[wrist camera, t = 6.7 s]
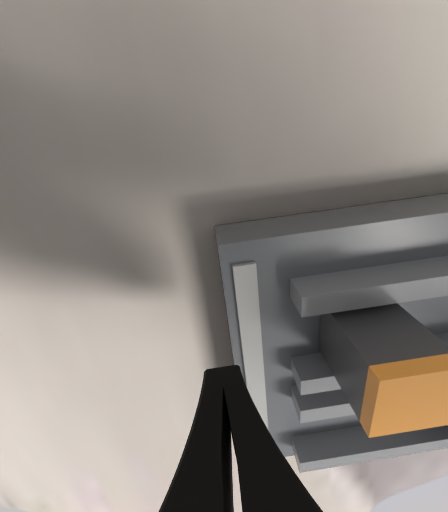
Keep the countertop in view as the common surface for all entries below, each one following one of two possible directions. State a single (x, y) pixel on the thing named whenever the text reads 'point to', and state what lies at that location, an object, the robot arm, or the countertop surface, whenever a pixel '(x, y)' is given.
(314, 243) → the block
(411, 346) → the breaker toggle
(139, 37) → the countertop surface
